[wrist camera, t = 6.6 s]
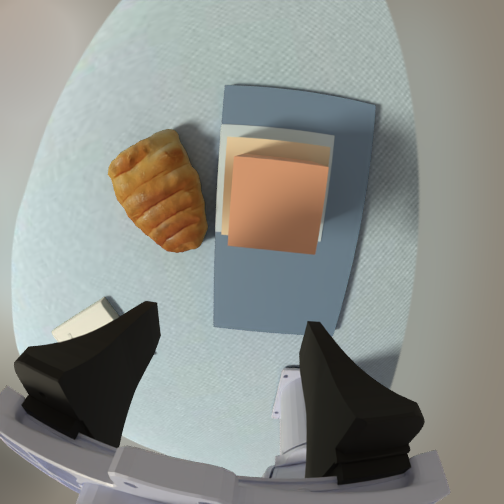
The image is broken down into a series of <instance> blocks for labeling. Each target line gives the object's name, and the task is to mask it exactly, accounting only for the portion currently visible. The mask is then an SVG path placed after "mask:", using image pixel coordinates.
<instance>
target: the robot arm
mask: <svg viewBox="0 0 504 504" xmlns="http://www.w3.org/2000/svg"><path fill="white" fill-rule="evenodd" d="M160 336H161V334H160V325H159V316H158V306H157V303H156V302H150V301H145V302H143V303H141V304H139V305H138V306H136V307H134V308H133V309H131V310H130V311H128V312H126V313H125V314H123V315H121V316H120V317H118V318H117V319H115V320H113V321H111V322H109V323H107V324H106V325H104V326H102V327H100V328H98V329H96V330H94V331H91V332H89V333H87V334H84V335H81V336H78V337H75V338H72V339H69V340H66V341H62V342H58V343H53V344H48V345H40V346H30V347H28V348H27V349H26V350H25V351H24V352H23V353H22V354H21V355H20V357H19V358H18V359H17V360H16V361H15V362H14V368H15V372H16V374H17V376H18V377H19V379H20V381H21V383H22V384H23V386H24V388H25V389H26V391H27V393H28V394H29V395H28V396H27V398H26V399H25V397H24V396H23V395H21V394H20V393H19V392H17V391H16V390H14V389H12V388H11V387H10V386H6V387H5V388H4V389H3V390H2V392H1V393H0V438H1V439H2V440H3V441H4V442H5V443H6V444H7V445H8V446H9V447H10V448H11V449H12V450H13V451H15V452H16V453H17V454H19V455H20V456H21V457H23V458H24V459H25V460H27V461H28V462H30V463H31V464H33V465H34V466H35V467H37V468H38V469H40V470H41V471H42V472H44V473H45V474H47V475H49V476H50V477H52V478H53V479H55V480H57V481H58V482H60V483H61V484H63V485H65V486H66V487H68V488H70V489H72V490H73V491H75V492H77V493H79V496H78V499H77V502H76V504H435V503H436V502H438V501H440V500H441V499H443V498H445V497H446V496H448V495H449V494H450V489H449V486H448V482H447V479H446V476H445V473H444V470H443V467H442V464H441V462H440V459H439V456H438V453H437V451H436V450H433V451H429V452H426V453H422V454H419V455H416V456H413V457H411V458H410V459H409V457H408V454H407V453H409V451H410V447H409V443H410V442H411V440H412V439H413V438H414V437H415V436H416V435H417V434H418V433H419V432H420V430H421V429H422V427H423V425H424V417H423V415H422V413H421V410H420V408H419V406H418V404H417V403H416V402H414V401H412V400H409V399H407V398H405V397H403V396H401V395H398V394H396V393H395V392H393V391H391V390H390V389H388V388H386V387H385V386H383V385H381V384H380V383H379V382H377V381H376V380H374V379H373V378H372V377H370V376H369V375H368V374H366V373H365V372H364V371H363V370H362V369H361V368H360V367H358V366H357V365H356V364H355V363H354V362H353V361H352V360H351V359H350V358H349V357H348V356H347V355H346V354H345V352H344V351H343V350H342V349H341V348H340V347H339V345H338V344H337V343H336V342H335V341H334V339H333V338H332V337H331V335H330V334H329V333H328V331H327V330H326V329H325V328H324V326H323V325H322V324H321V322H316V321H307V325H306V329H305V333H304V337H303V341H302V345H301V349H300V353H299V359H300V368H284V369H283V370H282V373H281V377H280V382H279V386H278V390H277V395H276V399H275V403H274V407H273V411H272V418H274V419H280V455H279V456H275V465H273V466H270V467H268V468H267V470H266V471H265V473H264V474H263V476H262V478H260V477H246V476H236V475H235V474H234V473H233V472H231V471H229V470H227V469H225V468H223V467H218V466H214V465H210V464H205V463H199V462H194V461H189V460H184V459H179V458H175V457H171V456H166V455H162V454H159V453H155V452H151V451H148V450H144V449H141V448H137V447H131V446H123V447H119V445H120V440H121V436H122V432H123V428H124V424H125V420H126V417H127V413H128V410H129V407H130V404H131V401H132V398H133V395H134V393H135V390H136V388H137V386H138V383H139V382H140V380H141V378H142V376H143V374H144V372H145V370H146V368H147V366H148V364H149V362H150V360H151V359H152V357H153V355H154V353H155V350H156V348H157V345H158V342H159V339H160Z"/></svg>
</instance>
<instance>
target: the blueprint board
mask: <svg viewBox="0 0 504 504" xmlns="http://www.w3.org/2000/svg"><path fill="white" fill-rule="evenodd" d="M375 109H376V105H372V104H368V103H364V102H360V101H356V100H351V99H346V98H341V97H336V96H331V95H325V94H319V93H313V92H306V91H298V90H290V89H281V88H271V87H258V86H238V85H225V90H224V101H223V112H222V124H221V135H220V149H219V164H218V181H217V200H216V223H215V260H214V327H219V328H228V329H237V330H247V331H257V332H269V333H282V334H297V335H304V333H305V329H306V325H307V321H316V322H321V324H322V325H323V326H324V328H325V329H326V330H327V331H328V333H329V334H330V335H331V336H333V334H334V331H335V328H336V324H337V321H338V318H339V314H340V311H341V307H342V303H343V300H344V296H345V292H346V288H347V284H348V280H349V276H350V272H351V268H352V263H353V259H354V254H355V250H356V245H357V240H358V236H359V230H360V225H361V220H362V214H363V209H364V203H365V197H366V191H367V184H368V177H369V170H370V162H371V153H372V144H373V134H374V123H375ZM227 137H244V138H258V139H270V140H280V141H289V142H297V143H305V144H313V145H320V146H326V147H330V157H329V165H328V167H329V170H328V178H327V185H326V192H325V199H324V206H323V212H322V218H321V225H320V231H319V237H318V243H317V248H316V253H315V255H312V254H302V253H293V252H283V251H274V250H264V249H254V248H245V247H235V246H228V235H221V230H222V209H223V191H224V174H225V159H226V145H227Z"/></svg>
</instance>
